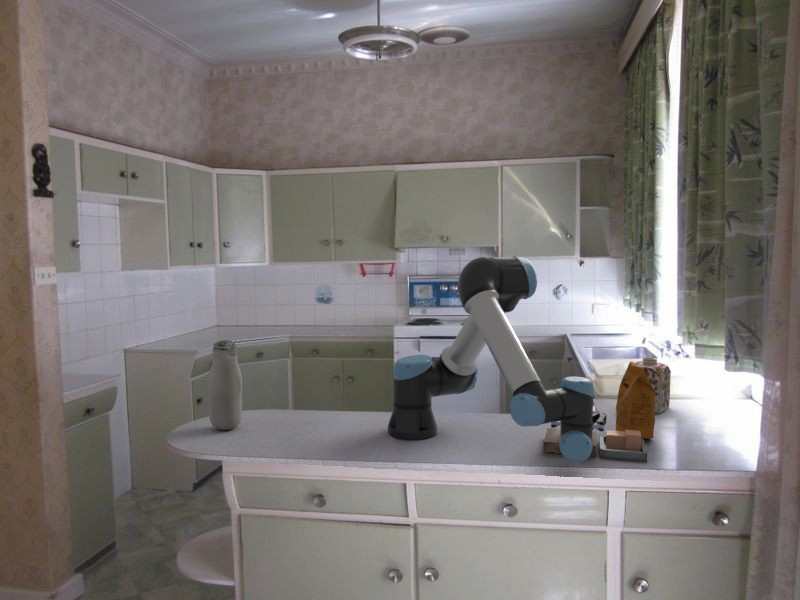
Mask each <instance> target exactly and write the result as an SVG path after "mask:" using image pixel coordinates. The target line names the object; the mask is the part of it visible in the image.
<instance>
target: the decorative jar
mask: <svg viewBox="0 0 800 600" xmlns="http://www.w3.org/2000/svg"><path fill="white" fill-rule="evenodd" d="M633 363H634V364H636V366H637V367H643V368H646V369H648V372H647V373H645V375H646V377H647V379H648V380H649V382H650V384H651V385H652V387H653V389H654V391H655V412H654V414H657V415H660V414H662V413H664V411H666V410H667V409H668V408H669V407H670V401H671V400H670V399H671V398H670V397H671V375H672V374H671V373H672V370H671V369H670V366H669V365H667V364H665V363H661V362H658V360H657V358H655V357H643V358H642V361H641V360H639V361H635V362H633Z"/></svg>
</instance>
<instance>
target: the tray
mask: <svg viewBox="0 0 800 600" xmlns="http://www.w3.org/2000/svg"><path fill="white" fill-rule="evenodd" d="M599 458H605V459H615V460H625V461H637V462H648V451H647V447H646V443H645V439H643V438H641V452H636V451H625V450H614V449H606V435H604V434H599Z"/></svg>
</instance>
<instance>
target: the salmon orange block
mask: <svg viewBox="0 0 800 600" xmlns="http://www.w3.org/2000/svg"><path fill="white" fill-rule="evenodd" d="M625 451H636V452H641V431H637V430H625Z"/></svg>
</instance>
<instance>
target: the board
mask: <svg viewBox="0 0 800 600" xmlns="http://www.w3.org/2000/svg"><path fill="white" fill-rule="evenodd" d="M559 440H560V428H552V427H547V428H546V432H545V436H544V441H543V453H548V452H554V453H553V454H559V453H561V451H560V448H559ZM592 443H593V446H592V447H593V449H592V451H591V454H590V456H589V457H592V458H593V457H594V458H596V457H597V431H592Z"/></svg>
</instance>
